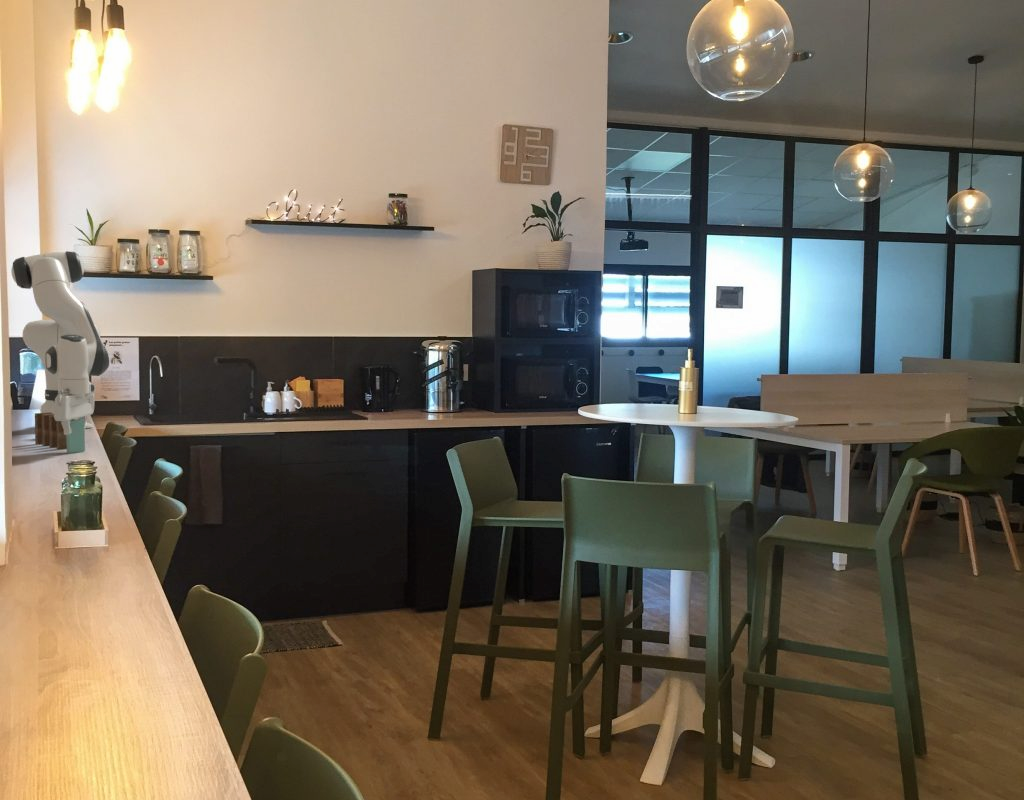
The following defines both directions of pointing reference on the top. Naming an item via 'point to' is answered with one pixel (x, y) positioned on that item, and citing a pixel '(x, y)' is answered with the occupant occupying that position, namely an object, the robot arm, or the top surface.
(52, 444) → the domino
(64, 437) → the domino
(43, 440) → the domino
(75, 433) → the domino
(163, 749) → the top surface
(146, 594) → the top surface
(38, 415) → the domino
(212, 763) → the top surface
